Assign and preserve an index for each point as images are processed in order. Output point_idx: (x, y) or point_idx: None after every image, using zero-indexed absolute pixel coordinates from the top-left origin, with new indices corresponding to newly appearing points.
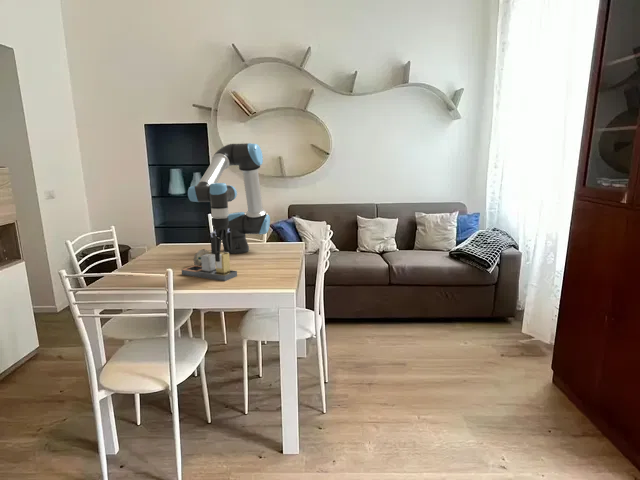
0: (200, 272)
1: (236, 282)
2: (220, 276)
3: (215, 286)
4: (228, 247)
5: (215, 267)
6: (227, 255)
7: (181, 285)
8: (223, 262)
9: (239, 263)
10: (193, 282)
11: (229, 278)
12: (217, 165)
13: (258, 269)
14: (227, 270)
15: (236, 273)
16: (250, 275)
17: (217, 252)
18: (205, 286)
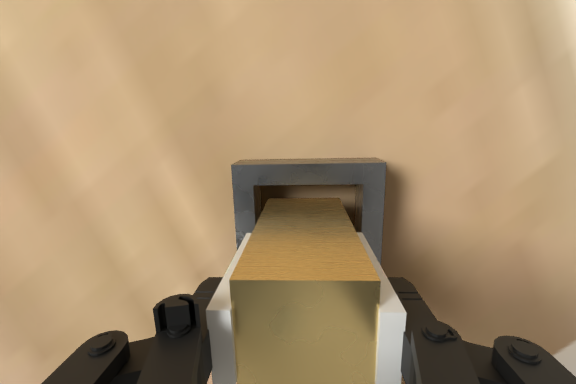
0: None
1: (372, 58)
2: (381, 201)
3: (510, 132)
4: (165, 372)
5: None
6: (277, 265)
7: (550, 338)
8: (357, 236)
9: (4, 335)
10: (472, 317)
11: (326, 159)
12: None
13: (31, 132)
14: (298, 207)
15: (241, 162)
16: (179, 83)
17: (469, 366)
18: (529, 195)
